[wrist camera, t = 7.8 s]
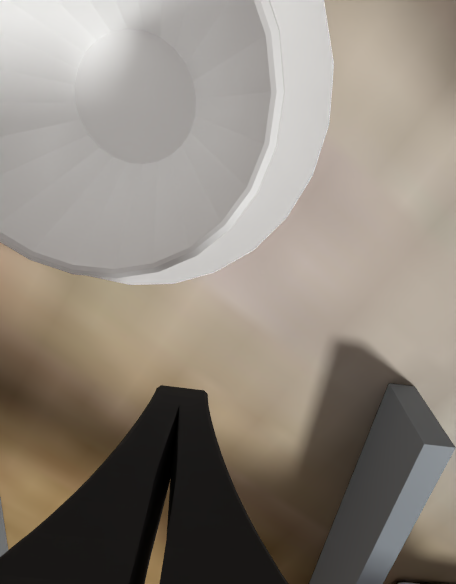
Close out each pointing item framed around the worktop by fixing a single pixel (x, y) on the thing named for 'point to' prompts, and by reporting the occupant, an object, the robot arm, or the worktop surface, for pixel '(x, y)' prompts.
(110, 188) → the teacup
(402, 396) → the cubby
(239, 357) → the worktop surface
